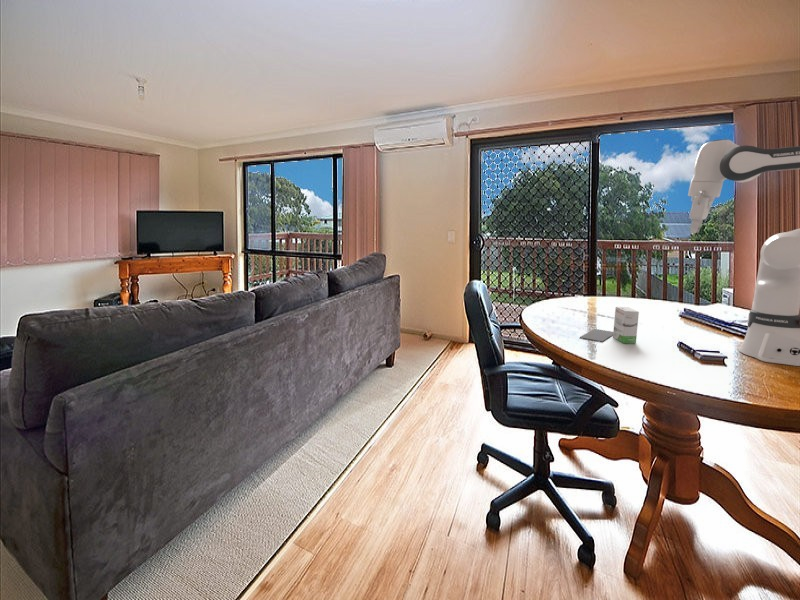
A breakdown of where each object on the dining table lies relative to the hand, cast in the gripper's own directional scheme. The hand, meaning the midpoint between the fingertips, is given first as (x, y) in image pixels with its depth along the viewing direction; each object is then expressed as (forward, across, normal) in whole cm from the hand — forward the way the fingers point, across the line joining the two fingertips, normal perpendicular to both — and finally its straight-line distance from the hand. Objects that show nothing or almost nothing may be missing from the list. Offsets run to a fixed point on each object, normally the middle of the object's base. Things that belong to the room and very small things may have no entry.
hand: (694, 232), depth 141 cm
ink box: (+40, -11, +12) cm, 44 cm away
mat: (+41, -10, +21) cm, 47 cm away
